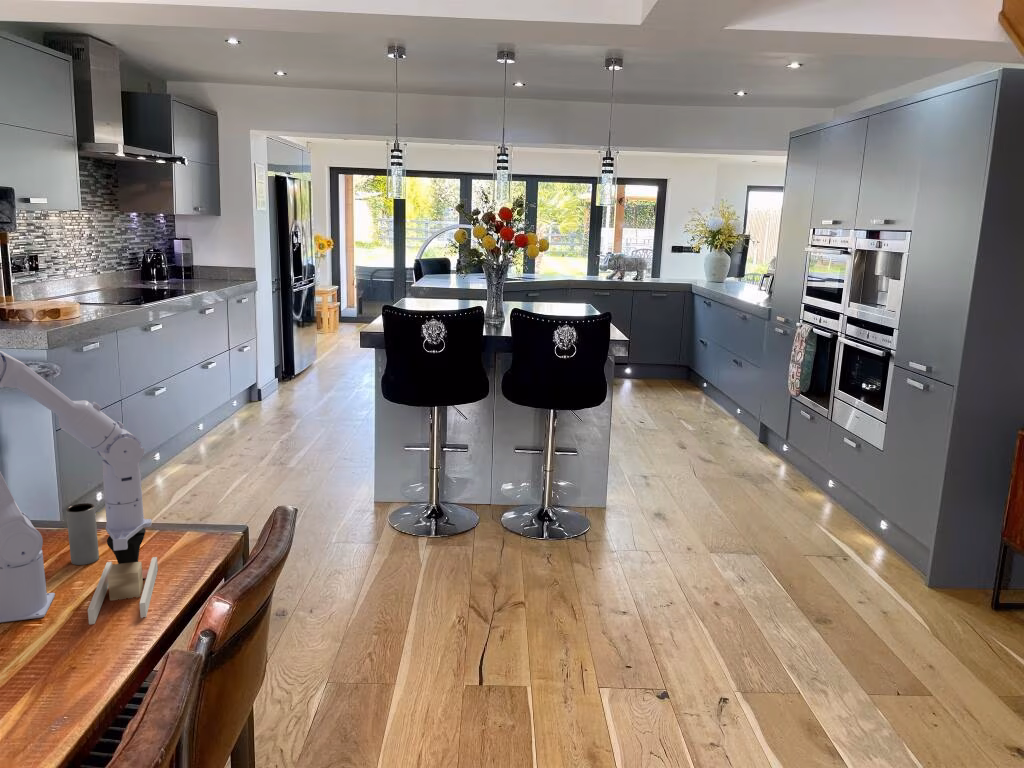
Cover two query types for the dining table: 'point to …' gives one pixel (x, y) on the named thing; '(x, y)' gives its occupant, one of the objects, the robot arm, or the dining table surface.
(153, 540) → the dining table surface
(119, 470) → the robot arm
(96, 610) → the channel
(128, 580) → the block
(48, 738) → the dining table surface
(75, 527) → the grey hollow tube
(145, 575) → the pad
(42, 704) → the dining table surface
